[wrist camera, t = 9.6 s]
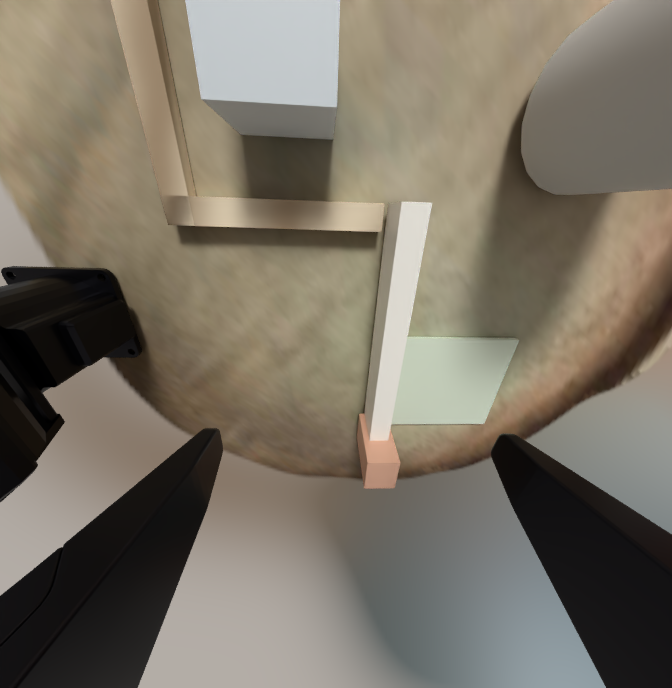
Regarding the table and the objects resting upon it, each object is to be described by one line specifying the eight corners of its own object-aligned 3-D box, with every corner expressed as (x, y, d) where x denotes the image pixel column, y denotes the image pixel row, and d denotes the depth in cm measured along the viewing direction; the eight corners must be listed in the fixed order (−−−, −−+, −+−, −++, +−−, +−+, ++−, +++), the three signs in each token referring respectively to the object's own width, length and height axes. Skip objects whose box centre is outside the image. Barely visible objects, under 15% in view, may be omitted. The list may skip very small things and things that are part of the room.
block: (241, 135, 14) (201, 99, 9) (225, -7, 11) (161, -146, 7) (333, 140, 14) (337, 107, 9) (336, 2, 12) (343, -126, 7)
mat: (390, 421, 24) (391, 424, 24) (405, 336, 20) (407, 338, 19) (481, 420, 24) (484, 423, 24) (515, 338, 20) (519, 340, 20)
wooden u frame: (176, 224, 15) (167, 224, 15) (71, -216, 9) (43, -263, 8) (378, 230, 16) (381, 231, 15) (419, -175, 9) (429, -216, 9)
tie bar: (356, 437, 24) (364, 488, 19) (380, 202, 15) (404, 199, 10) (381, 437, 24) (394, 487, 20) (420, 204, 15) (460, 201, 10)
